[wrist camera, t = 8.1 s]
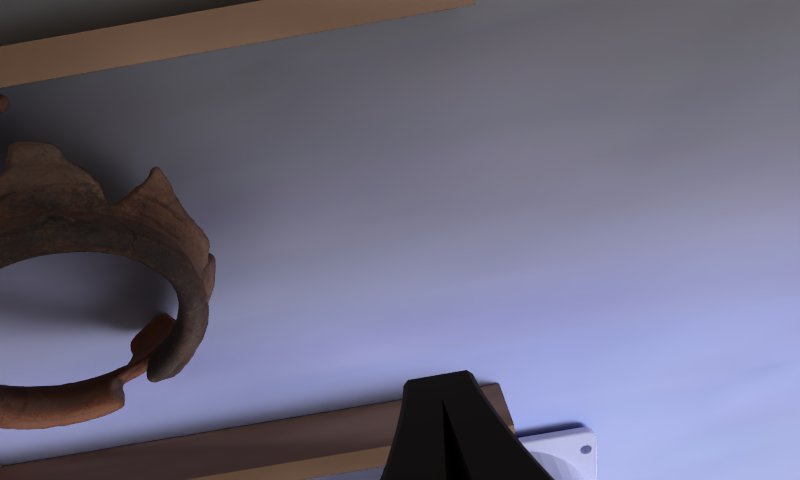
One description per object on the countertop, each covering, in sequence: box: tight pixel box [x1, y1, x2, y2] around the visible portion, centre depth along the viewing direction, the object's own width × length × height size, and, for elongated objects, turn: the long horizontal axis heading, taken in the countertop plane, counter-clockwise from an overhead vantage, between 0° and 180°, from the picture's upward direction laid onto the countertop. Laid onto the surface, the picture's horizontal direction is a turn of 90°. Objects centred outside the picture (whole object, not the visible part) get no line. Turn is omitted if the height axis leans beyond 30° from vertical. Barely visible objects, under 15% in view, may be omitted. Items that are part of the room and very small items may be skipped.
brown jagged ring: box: [0, 95, 216, 429], centre depth 16 cm, size 12×9×8 cm
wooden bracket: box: [0, 0, 515, 480], centre depth 18 cm, size 17×23×3 cm
